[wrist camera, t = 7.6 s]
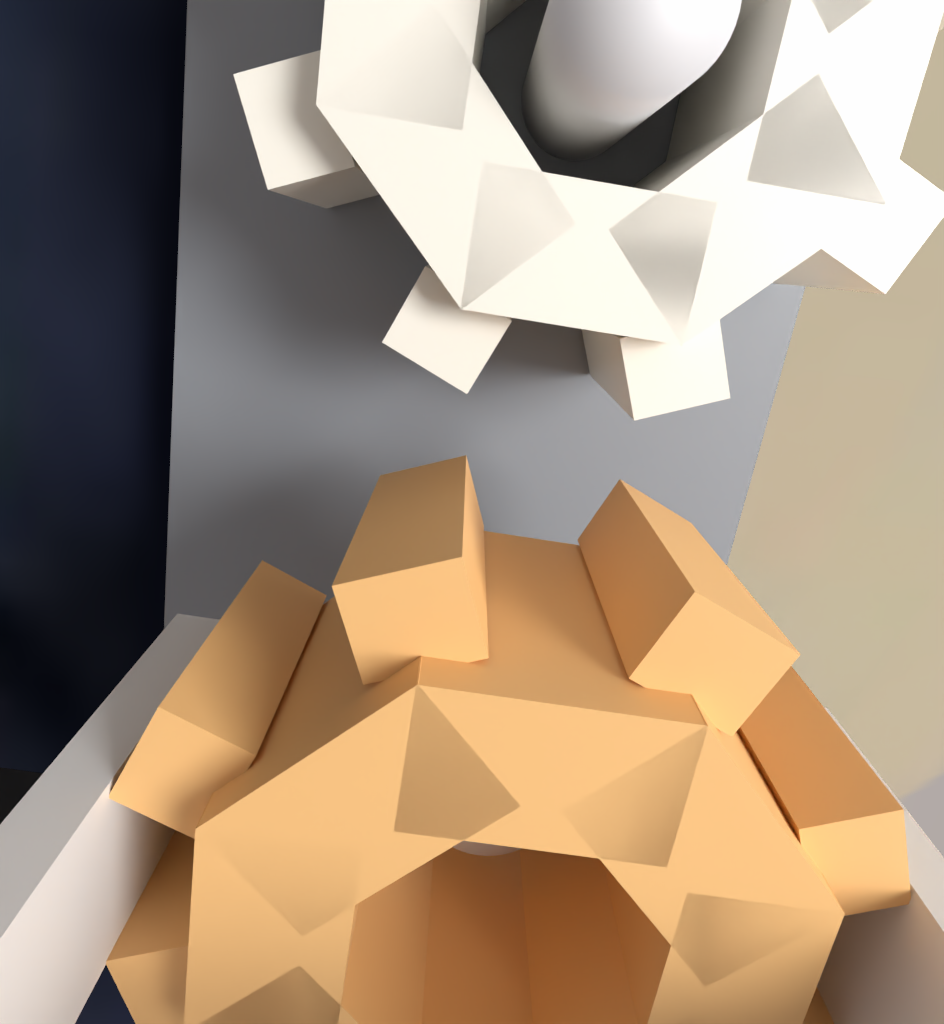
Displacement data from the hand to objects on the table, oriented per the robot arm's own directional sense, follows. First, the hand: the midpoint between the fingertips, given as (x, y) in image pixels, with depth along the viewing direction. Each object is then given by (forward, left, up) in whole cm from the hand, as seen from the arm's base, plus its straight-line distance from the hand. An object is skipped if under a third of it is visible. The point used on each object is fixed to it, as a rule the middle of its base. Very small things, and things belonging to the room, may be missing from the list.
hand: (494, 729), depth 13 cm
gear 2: (0, 0, 0) cm, 0 cm away
